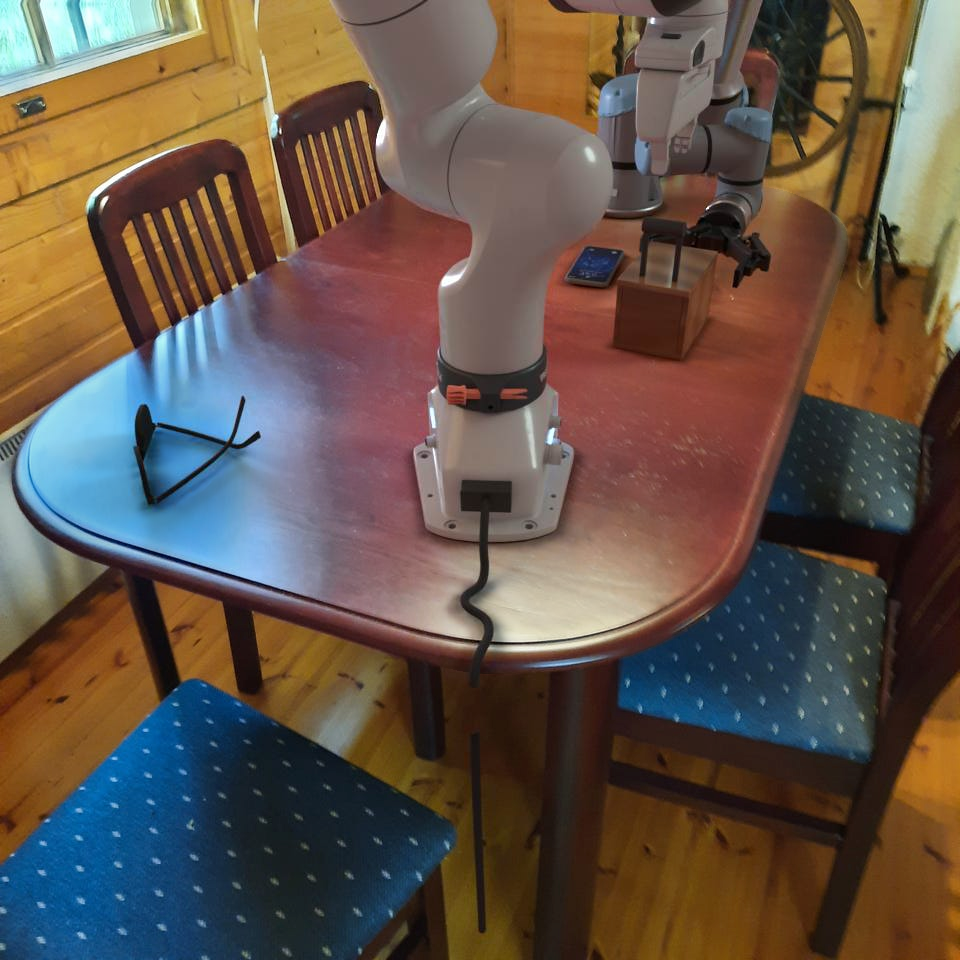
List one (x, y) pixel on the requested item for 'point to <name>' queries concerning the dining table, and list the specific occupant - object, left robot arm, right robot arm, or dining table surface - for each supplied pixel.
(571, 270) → the smartphone
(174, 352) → the dining table surface
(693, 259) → the lid
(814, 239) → the dining table surface
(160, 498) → the sunglasses
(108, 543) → the dining table surface
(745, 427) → the dining table surface
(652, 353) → the chest
